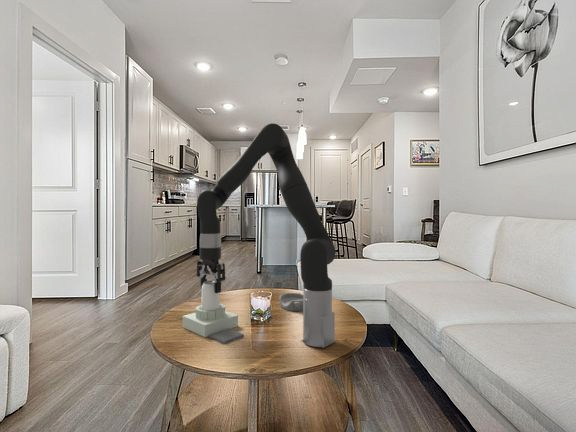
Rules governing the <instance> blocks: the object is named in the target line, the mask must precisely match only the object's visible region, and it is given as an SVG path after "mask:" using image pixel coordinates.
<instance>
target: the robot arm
mask: <svg viewBox="0 0 576 432" xmlns="http://www.w3.org/2000/svg"><path fill="white" fill-rule="evenodd" d="M290 142H291V141H290V139H289V137H288V134H287V133H286V131H285V130H284V128H283V127H282V126H280V124H277V123H272V122H271V123H268V124H266V125H265V126H263V127H262V128H261V129H260V131H259V132H258V133H257V134H256V136H255V137H254V139H253V140H252V141H251V142H250V143H249V145H248V146H247V147H246V149H245V150H244V151H243V153H241V155H240V156H239V157H238V159H237V160H236V161H235V162H234V163H233V164H232V165H231V166H230V167H229V168H228V169H227V170H226V171H225V172H224V173H223V174H222V175H220V177H219V178H218V179H217V180H216V181H217V182H216V185H215V186H214V187H213V188H212V189H204V190H202V191H201V192H199V194H198V197H197V199H196V206H197V212H198V217H199V222H200V225H199V226H200V227H199V229H200V230H199V231H200V232H199V233H200V235H199V259H200V260H196V277H197V278H198V279H200V290H202V285H203V282H205V281H208V279H207V278H208V275H209V276H210V277H211V278H212V279H213V281H215V283H214V292H215V293H220V294H221V291H222V282H223V281H226V264H225V263H220V260H221V259H222V237H221V219H220V218H219V217H218V214H217V210H218V209H220V208H221V207H222V206H223V205H224V204H225V203H226V202H227V200H229V198H230V197H231V196H232V194H233V193H234V192H235V191H236V190H237V189H238V188H239V187H240V186H242V184H243V183H245V181H246V180H248V178H249V176H250V174H251V173H252V171H253V169H254V168H255V166H257V165H256V164H258V162H260V159H262V157H264V156H265V155H266V154H267V153H268V155H269V156H270V159H271V160H272V162H273V164H274V167H275V169H276V172H277V178H278V184H279V185H278V187H279V189H280V193H281V196H282V198H283V202H284V204H285V206H286V208H287V210H288V211H289V212H290V214H291V215H292V217H293V218H294V219H295V221H297V223H298V224H299V225H300V227H301V228H302V231H303V233H304V234H305V238H306V241H305V242H304V243H303V244H302V245H301V249H300V260H299V261H300V277H301V281H302V283H303V285H302V286H303V291H302V292H303V294H302V295H303V311H302V319H303V321H302V324H303V327H302V330H303V333H302V335H303V336H302V337H303V338H302V341H303V342H302V343H304V344H306V345H307V346H311V347H315V348H326V347H328V346H330V345H332V344H334V343H335V342H336V341H335V335H336V333H335V331H336V329H335V325H336V324H335V321H336V319H335V318H336V317H335V316H336V315H335V312H334V311H333V280H332V279H331V278H330V277H329V275H328V273H329V271H328V265H330V264H331V263H333V261H334V260H335V258H336V247H335V244H334V242H333V240H332V238H331V237H330V234H328V231H327V229H326V228H325V225H324V224H323V222H322V219H321V217H320V215H319V211H318V209H317V207H316V204H315V202H314V199H313V196H312V193H311V191H310V189H309V186H308V184H307V182H306V179H305V178H304V176H303V173H302V171H301V170H300V168H299V166H298V163H296V159H295V157H294V153H293V150H292V146H291V144H290Z"/></svg>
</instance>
